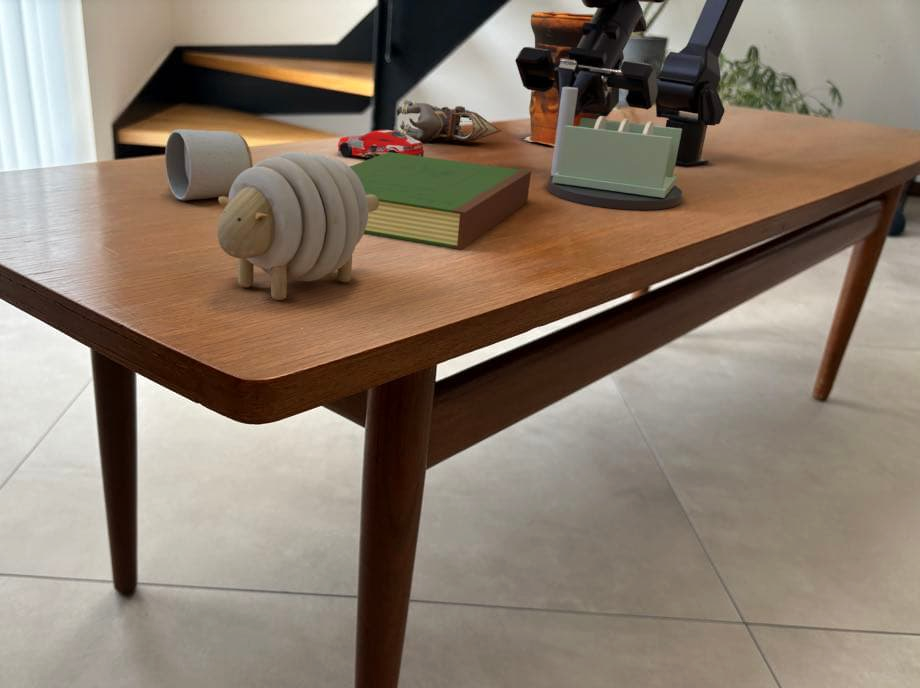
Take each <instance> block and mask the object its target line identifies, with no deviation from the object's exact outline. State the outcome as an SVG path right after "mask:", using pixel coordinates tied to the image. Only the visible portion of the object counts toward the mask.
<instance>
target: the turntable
mask: <svg viewBox="0 0 920 688" xmlns="http://www.w3.org/2000/svg"><path fill="white" fill-rule="evenodd" d="M547 180H548V181H547V191H548V192H549V193H551V194H552V195H554V196H556V197H558V198H560V199H562V200H563V199H564V200H566V201H569V202H572V203H576V204H582V205H585V206H592V207H599V208H606V209H613V210H626V211H627V210H628V211H656V210H657V211H658V210H664V209H665V210H666V209H670V208H675V207H676V206H678V205H680V204H681V202H682V198H683V190H682V189H681V188H680V187H678V186H677V185H674V187H673V188H672V189H671V190H670V191H669V193H668V194H667V195H666V196H665V197H664V198H660V197H652V196H645V195H638V194H631V193H624V192H617V191H610V190H602V189H595V188H588V187H581V186H574V185H567V184H560V183H553V182H552V181H553V176H552V175H550V176H549V177H548V179H547Z"/></svg>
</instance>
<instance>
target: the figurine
mask: <svg viewBox="0 0 920 688" xmlns="http://www.w3.org/2000/svg"><path fill="white" fill-rule="evenodd" d="M395 110H396V115H397V116H400V115H401V114H402V115H404V116H405V115H408V114H409V115H410V114H416V115H417V114H419V116H418V118H417V121H414V120H413V118H411V117H409V122H410V124H411V125H410V124H408V123H406V124H405V121H404V120H402V121H401V124H400V125H399V128H401V129H400V130H399V129H398V128H397V127H396V126H394V127H393V131H397V132H401V133H403V134H406V135H409V136H410V137H412V138H413V139H415V140H418V141H420V142H422V143H424V142H427V141H428V140H435V139H438V138H446V139H450V140H452V139H453V140H457V141H460V142H464V143H467V142H468V143H469V142H474V141H477V140H480V139H483V138H486V137H488V136H491V135H494V134H498V133H501V132H502V129H500V128H498V127H496V126H495V125H493V124H492V123H490V122H489V121H488V120H487V119H485V118H484V117H482V115H480V114H479V113H477V112H474V111H472V110H471V111H470V110H467V109H466V107H465V106H462V105H456V106H455V107H454V108H451V107H450V108H449V107H448V106H443V107H441V108H440V107H438V106H433V105H431V104H429V103H425V102H418V101H416V100H413V101H410V100H407V99H404V102H402V106H400V105H398V106H397V108H396V109H395ZM461 118H463V119H464V118H465V119H468V120H464V121H462V120H461ZM464 122H465V123H472V126H471V132H469V134H467V132H463V133H462V128H463V126H462V125H460V123H464ZM411 126H413V127H411ZM414 127H415V128H414Z"/></svg>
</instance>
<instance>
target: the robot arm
mask: <svg viewBox="0 0 920 688" xmlns="http://www.w3.org/2000/svg"><path fill="white" fill-rule="evenodd" d="M744 1H745V0H705V2H704V5H703V7H702V9H701V11H700V14H699V16H698V18H697V21H696V23H695V26H694V28H693V29H692V32H691V35H690V37H689V40H688V42H687V44H686V45H685V46H684V47H683V48H682V49H681V50H680V51H679V52H675V51H670V52H669V53H668V54H667V55H666V56H665V60H664V62H663V65H662V68H661V70H660V72H659V73H658V75H657V74H656V69H655V66H654V65H653V64H652V63H645V62H639V61H631V60H624V59H625V55H624V50H625V48H626V46H627V45H628V43H629V41H630V38H631V36H632V34H633V33H634V34H635V33H642V32H646V31H647V21H646V18H645V16H644V11H643V8H642V6H641V4H640V2H641V3H652V4H653V3H654V4H661V3H664V2H666V0H581V2H582V4H583V5H584V6H585V7H586V8H588V9H596V10H595V12H594V13H593V14H594V16H593V18H592V20H591V22H590V23H584V24H583V26H582V28H581V29H582V33H583V37H582V38H581V40H580V42H579V44H578V46H577V47H571V49H570V51H569V57H570V60H569V59H561V60H560V64H559V63H554V62H553V58H552V55H551V51H550V50H547V49H540V48H535V47H533V46H532V47H531V46H524V47H523V48H521V50H520V51H519V53H518V55H517V56H516V58H515V60H514V61H515V65H516V67H517V70H518V73H519V74H518V75H519V77H520V81H521V84H522V86H523V87H524V88H525V89H526V90H528V91H531V90H534V91H540V92H546V91H548V90H550V89H552V87H553V85H554V83H556V87H557V90H558V94H559V106H558V116H559V109H560V101H561V94H562V88H563V87H574V88H578V94H577V101H576V108H575V115H574V118H575V117H576V116H577V115H578V114H579V113H581V112H582V113H585V114H588V113H589V114H595V115H600V116H604V117H605V118H606V117H609V116H610V114H611V112H613V110H614V109H615V107H617V105H619V102H620V89H621V90H625V91H627V94H626V95H625V102H626V104H627V105H628V107H631V108H637V109H641V110H649V109H650V110H651V108H652V107H653V105H654V104H655V113H656V115H655V116H656V117H657V118H663V119H666V120H665V121H666V122H665V126H664V127H670V128H679V129H682V133H681V138H680V143H679V148H678V153H677V158H676V163H675V165H677V166H685V167H687V166H694V165H695V166H696V165H702V164H709V162H710V159H708V158H703V157H702V154H703V149H704V144H705V140H706V134H707V129H708V126H716V125H719V124H721V121H722V120H723V116H724V114H725V111H726V110H725V107H724V104H723V102H722V99H721V96H720V94H719V92H718V88H719V84H720V82H721V78H722V77H721V76H722V75H721V68H720V60H719V58H720V54H721V52H722V51H723V48H724V46H725V43H726V41H727V39H728V37H729V34H730V33H731V30H732V28H733V26H734V23H735V21H736V18H737V16H738V14H739V12H740V9H741V7H742V5H743V3H744ZM557 124H558V119H557V123H556V127H557Z"/></svg>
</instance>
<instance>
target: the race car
mask: <svg viewBox="0 0 920 688" xmlns="http://www.w3.org/2000/svg"><path fill="white" fill-rule="evenodd" d="M337 147H338V148H337V151H338V152H339V153H340V154H341V155H342V157H345V158H349V157H351V156H356V157H364V158H369V159H371V158H374V157H377V156H380V155H382V154H385V153H388V152H392V153H400V154H407V155H415V156H422V157H424V153H425V150H424V146H423V142H420V141H418V140H415V139H413V138H412V137H410V136H409V135H406V134H403V133H401V132H397V131H394V130H392V129H391V130H390V129H378V130H377V129H376V130H373V131H370V132H367V133H365V134H353V135H347V136H343V137H341V138H339V141H338V143H337Z"/></svg>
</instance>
